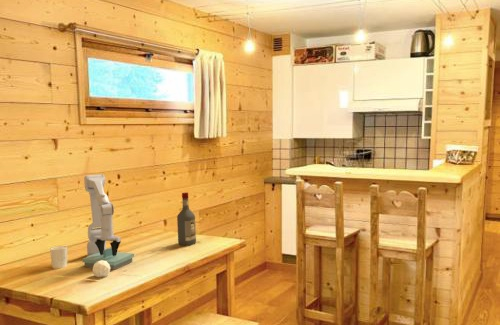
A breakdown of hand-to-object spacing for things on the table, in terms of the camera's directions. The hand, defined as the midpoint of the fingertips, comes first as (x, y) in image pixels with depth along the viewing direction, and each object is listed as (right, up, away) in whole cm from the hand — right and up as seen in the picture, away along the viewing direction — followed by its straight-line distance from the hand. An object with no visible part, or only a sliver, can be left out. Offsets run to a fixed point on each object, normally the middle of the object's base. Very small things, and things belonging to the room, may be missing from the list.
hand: (108, 255), depth 229 cm
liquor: (+34, -2, +41) cm, 53 cm away
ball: (+3, -7, -18) cm, 19 cm away
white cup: (-24, -6, -1) cm, 25 cm away
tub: (0, -5, 0) cm, 5 cm away
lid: (0, -2, 0) cm, 2 cm away
